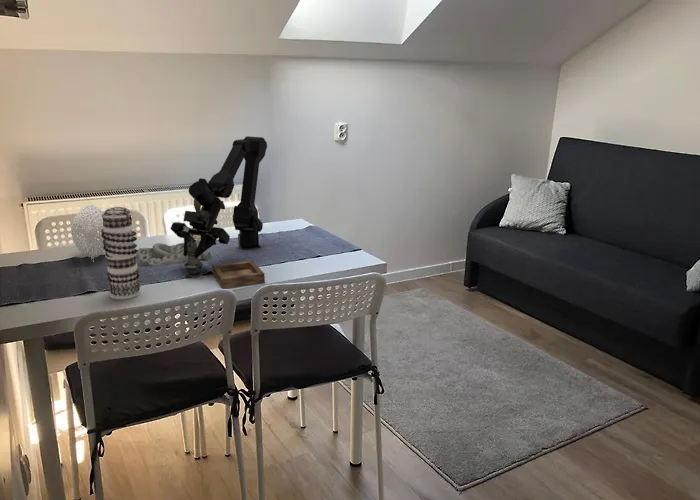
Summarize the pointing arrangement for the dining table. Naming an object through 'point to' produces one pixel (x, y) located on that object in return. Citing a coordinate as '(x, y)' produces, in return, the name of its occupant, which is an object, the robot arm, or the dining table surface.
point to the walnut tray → (238, 274)
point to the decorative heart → (88, 231)
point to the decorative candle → (120, 253)
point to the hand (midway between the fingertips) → (189, 256)
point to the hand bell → (197, 208)
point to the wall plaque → (166, 254)
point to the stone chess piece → (192, 262)
